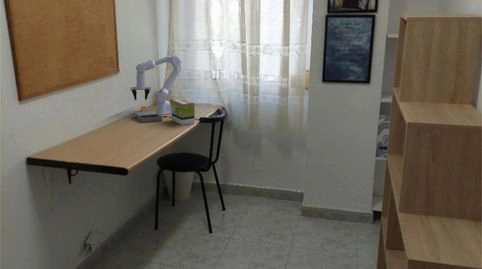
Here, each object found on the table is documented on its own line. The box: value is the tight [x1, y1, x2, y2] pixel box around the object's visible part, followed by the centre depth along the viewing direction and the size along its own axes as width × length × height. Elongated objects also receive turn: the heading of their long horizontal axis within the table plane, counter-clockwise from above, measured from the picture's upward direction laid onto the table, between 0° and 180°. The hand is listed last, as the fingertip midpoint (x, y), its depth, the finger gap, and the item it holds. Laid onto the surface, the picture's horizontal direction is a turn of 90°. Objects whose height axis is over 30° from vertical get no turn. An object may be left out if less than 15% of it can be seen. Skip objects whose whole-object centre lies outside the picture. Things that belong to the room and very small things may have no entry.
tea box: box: [171, 98, 195, 126], centre depth 306 cm, size 15×10×15 cm, turn 37°
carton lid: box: [133, 105, 158, 116], centre depth 315 cm, size 14×12×4 cm
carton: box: [136, 114, 163, 124], centre depth 309 cm, size 14×12×3 cm
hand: (140, 99), depth 323 cm, fingers open, 7 cm apart
